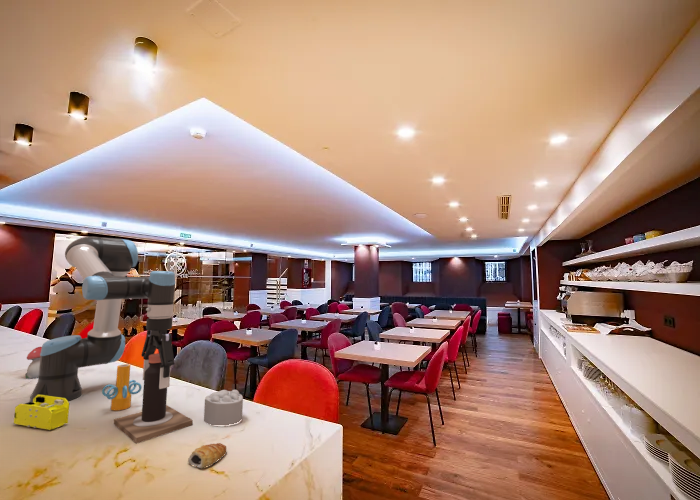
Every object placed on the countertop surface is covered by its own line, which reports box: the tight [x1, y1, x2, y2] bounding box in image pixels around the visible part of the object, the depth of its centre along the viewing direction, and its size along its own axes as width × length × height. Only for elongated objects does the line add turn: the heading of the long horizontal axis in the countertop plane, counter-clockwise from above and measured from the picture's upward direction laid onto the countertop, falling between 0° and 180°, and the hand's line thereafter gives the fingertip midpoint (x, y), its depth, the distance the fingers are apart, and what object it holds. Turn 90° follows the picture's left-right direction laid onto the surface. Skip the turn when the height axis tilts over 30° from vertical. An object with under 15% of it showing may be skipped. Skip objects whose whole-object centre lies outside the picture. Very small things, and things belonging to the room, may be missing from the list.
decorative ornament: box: [24, 346, 42, 379], centre depth 158 cm, size 9×6×15 cm
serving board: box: [113, 404, 194, 444], centre depth 106 cm, size 20×16×2 cm
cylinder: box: [101, 363, 142, 411], centre depth 120 cm, size 12×10×15 cm
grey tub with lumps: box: [203, 389, 244, 426], centre depth 110 cm, size 10×13×9 cm
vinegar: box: [141, 352, 168, 422], centre depth 107 cm, size 7×7×20 cm
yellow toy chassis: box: [13, 395, 70, 431], centre depth 105 cm, size 16×6×8 cm, turn 75°
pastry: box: [187, 442, 227, 469], centre depth 86 cm, size 9×7×4 cm
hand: (155, 383), depth 107 cm, fingers open, 13 cm apart
